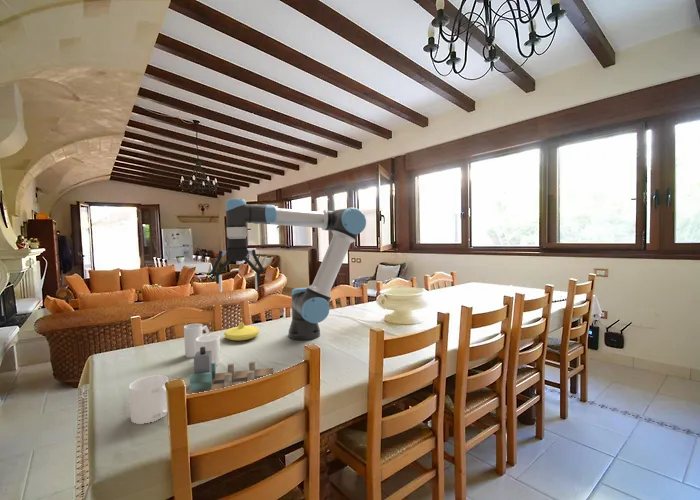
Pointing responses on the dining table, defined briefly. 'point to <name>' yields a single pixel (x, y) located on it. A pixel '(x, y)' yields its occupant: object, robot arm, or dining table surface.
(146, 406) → the mug
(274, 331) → the dining table surface
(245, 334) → the yellow pattypan squash
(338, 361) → the dining table surface
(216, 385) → the board
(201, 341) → the cup
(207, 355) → the block
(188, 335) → the mug
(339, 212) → the robot arm
